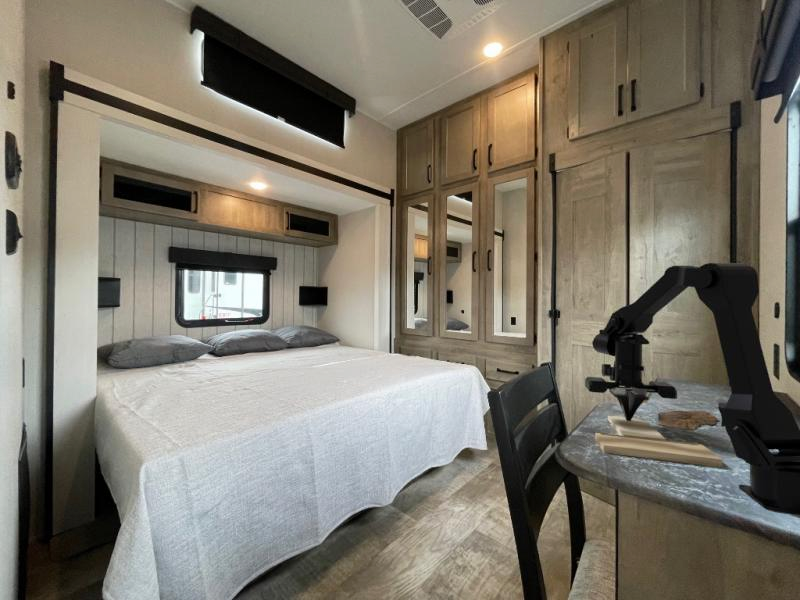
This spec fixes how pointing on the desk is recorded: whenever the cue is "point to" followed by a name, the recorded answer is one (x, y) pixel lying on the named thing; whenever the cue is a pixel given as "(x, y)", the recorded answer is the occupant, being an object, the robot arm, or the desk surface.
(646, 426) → the birch plank
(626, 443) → the oak floor board
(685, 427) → the wooden fragment
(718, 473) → the desk surface
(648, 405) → the desk surface
